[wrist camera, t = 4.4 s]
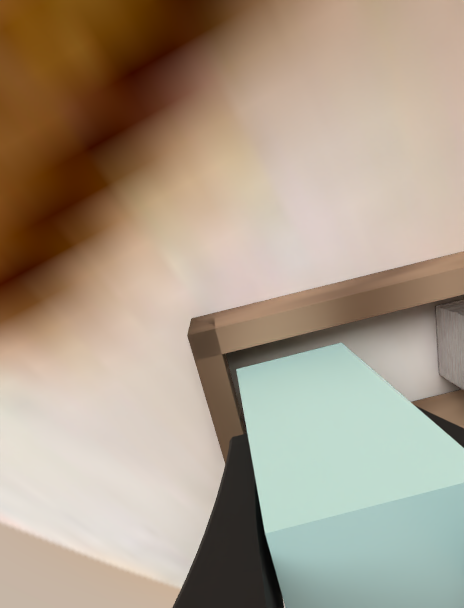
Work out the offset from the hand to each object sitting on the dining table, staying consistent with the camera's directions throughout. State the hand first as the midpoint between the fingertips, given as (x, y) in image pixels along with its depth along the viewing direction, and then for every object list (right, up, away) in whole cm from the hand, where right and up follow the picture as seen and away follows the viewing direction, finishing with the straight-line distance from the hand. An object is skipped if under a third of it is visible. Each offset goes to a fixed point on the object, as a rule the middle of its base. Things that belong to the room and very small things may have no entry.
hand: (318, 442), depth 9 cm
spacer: (0, +1, +2) cm, 2 cm away
